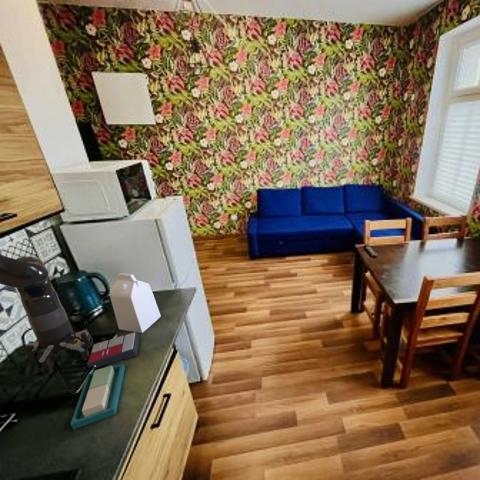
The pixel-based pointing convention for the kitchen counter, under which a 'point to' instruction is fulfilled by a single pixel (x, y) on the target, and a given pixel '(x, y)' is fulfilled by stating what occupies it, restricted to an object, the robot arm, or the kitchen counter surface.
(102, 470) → the kitchen counter surface
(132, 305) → the milk
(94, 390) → the pad
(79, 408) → the tray
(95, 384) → the pale green rectangular block
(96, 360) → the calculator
